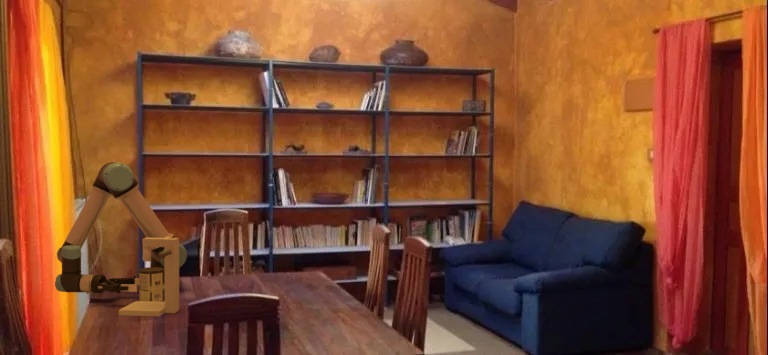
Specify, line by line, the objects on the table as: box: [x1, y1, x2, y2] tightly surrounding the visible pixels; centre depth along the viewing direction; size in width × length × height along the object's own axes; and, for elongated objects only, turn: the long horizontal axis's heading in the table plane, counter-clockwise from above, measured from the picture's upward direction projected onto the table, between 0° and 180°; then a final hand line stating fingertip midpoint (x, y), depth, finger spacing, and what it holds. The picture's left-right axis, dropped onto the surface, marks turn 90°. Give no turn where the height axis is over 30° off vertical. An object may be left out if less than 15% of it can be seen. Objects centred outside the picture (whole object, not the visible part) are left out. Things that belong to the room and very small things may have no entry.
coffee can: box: [138, 266, 165, 302], centre depth 292 cm, size 10×10×14 cm
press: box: [118, 237, 180, 317], centre depth 274 cm, size 20×20×29 cm
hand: (143, 284), depth 291 cm, fingers open, 13 cm apart
